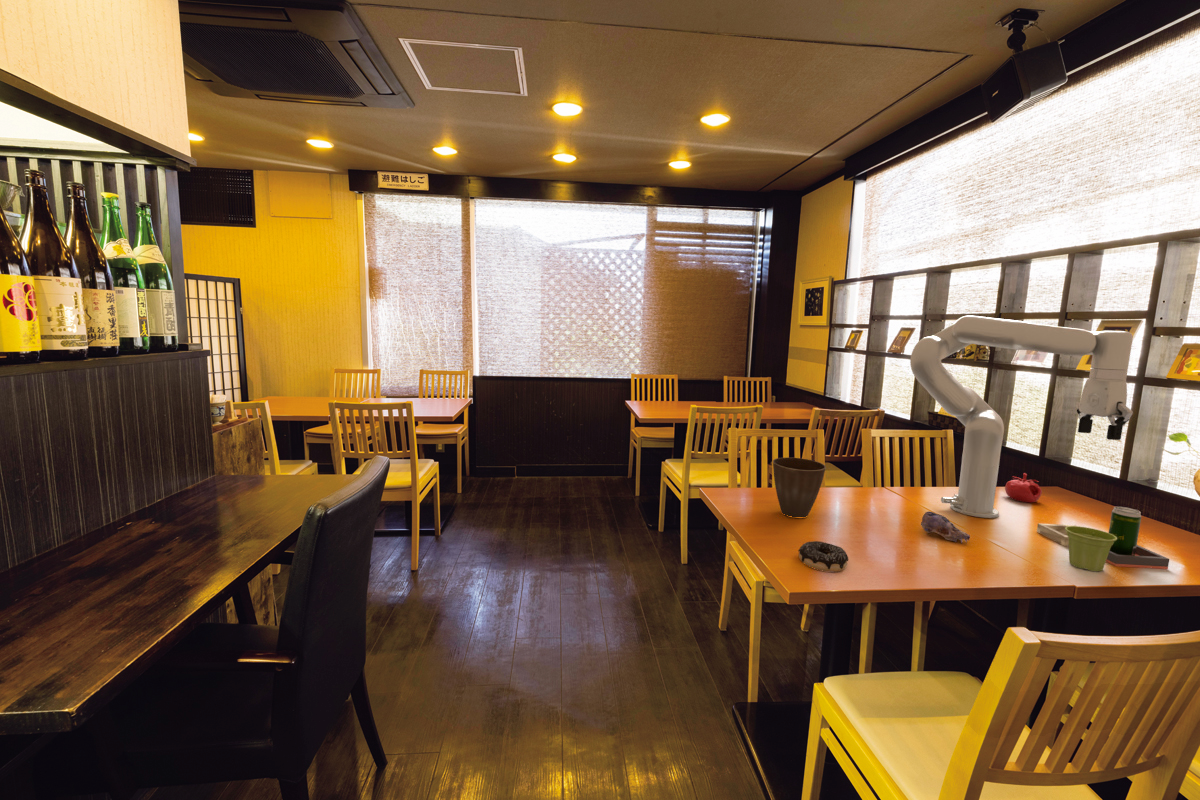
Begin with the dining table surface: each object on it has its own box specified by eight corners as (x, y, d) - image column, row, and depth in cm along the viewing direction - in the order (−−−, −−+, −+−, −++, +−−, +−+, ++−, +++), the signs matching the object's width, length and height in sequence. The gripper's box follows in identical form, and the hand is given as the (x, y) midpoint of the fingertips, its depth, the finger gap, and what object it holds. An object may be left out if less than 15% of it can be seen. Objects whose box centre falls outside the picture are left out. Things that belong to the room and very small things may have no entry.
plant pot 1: (831, 517, 161) (836, 466, 158) (801, 527, 152) (805, 472, 150) (789, 503, 173) (793, 455, 171) (759, 511, 164) (762, 460, 162)
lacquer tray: (1115, 566, 132) (1116, 556, 131) (1076, 546, 143) (1077, 537, 143) (1167, 569, 131) (1169, 559, 130) (1124, 549, 143) (1125, 539, 142)
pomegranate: (1001, 499, 184) (1003, 473, 183) (1007, 494, 191) (1009, 468, 190) (1037, 506, 177) (1040, 479, 176) (1043, 500, 184) (1045, 474, 182)
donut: (841, 556, 133) (843, 541, 133) (853, 577, 122) (854, 561, 121) (795, 551, 136) (796, 536, 135) (801, 571, 124) (803, 555, 124)
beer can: (1135, 555, 137) (1143, 510, 135) (1133, 561, 133) (1141, 514, 132) (1106, 548, 141) (1113, 504, 139) (1104, 554, 137) (1111, 509, 136)
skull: (974, 544, 144) (977, 522, 143) (956, 548, 141) (959, 525, 140) (931, 528, 155) (933, 508, 154) (913, 531, 151) (916, 511, 151)
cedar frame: (1064, 546, 144) (1065, 537, 143) (1036, 531, 154) (1037, 523, 153) (1104, 548, 143) (1106, 539, 142) (1074, 533, 153) (1075, 525, 153)
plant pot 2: (1050, 558, 135) (1054, 525, 134) (1084, 558, 136) (1089, 525, 135) (1086, 575, 126) (1091, 540, 125) (1122, 574, 127) (1128, 540, 126)
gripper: (1068, 372, 157) (1060, 429, 160) (1120, 378, 140) (1110, 441, 142) (1096, 373, 157) (1087, 430, 159) (1151, 379, 140) (1140, 443, 142)
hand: (1098, 436), depth 151 cm, fingers open, 9 cm apart
